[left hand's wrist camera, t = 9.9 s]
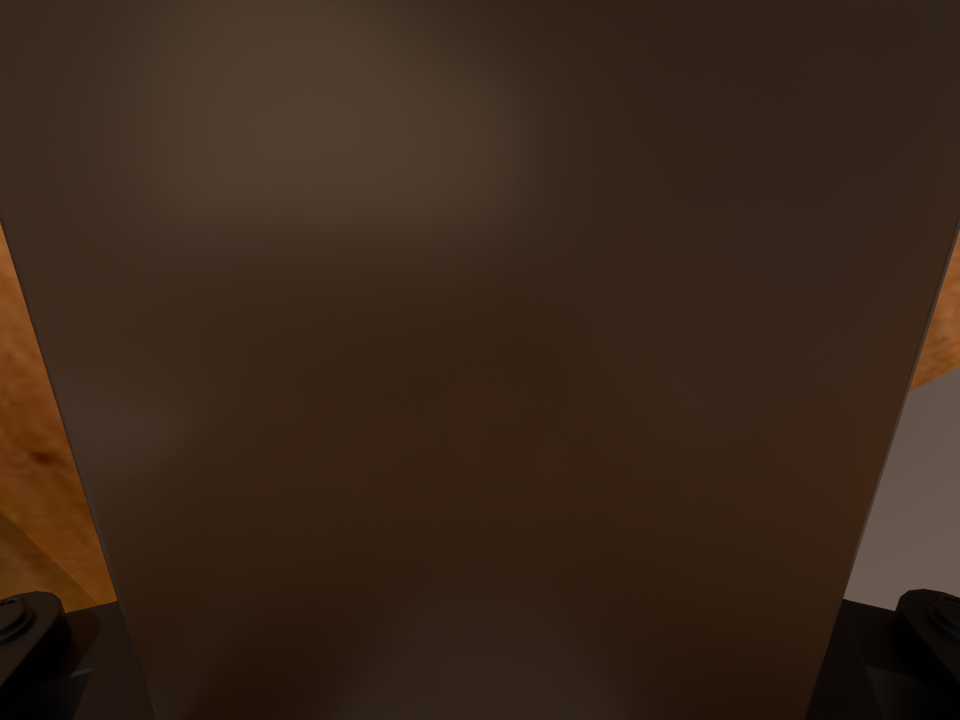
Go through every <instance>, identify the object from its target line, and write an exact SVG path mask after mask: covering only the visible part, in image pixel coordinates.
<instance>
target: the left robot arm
mask: <svg viewBox="0 0 960 720" xmlns="http://www.w3.org/2000/svg"><path fill="white" fill-rule="evenodd" d="M0 720H155V719H154V716H153V712H152V709H151V706H150V703H149V699H148V696H147V693H146V690H145V687H144V683H143V680H142V677H141V674H140V670H139V667H138V664H137V661H136V658H135V654H134V651H133V648H132V645H131V641H130V638H129V635H128V632H127V629H126V625H125V622H124V619H123V616H122V612H121V609H120V606H119V603H118V601H115V602H112V603H108V604H104V605H99V606H95V607H91V608H86V609H82V610H78V611H73V612H69V613H65V611H64V609H63V606H62V603H61V600H60V599H59V598H58V597H56V596H55V595H54V594H52V593H48V592H39V591H35V592H29V593H23V594H18V595H14V596H12V597H9V598H6V599H3V600H0ZM805 720H960V598H959V597H955V596H953V595H950V594H947V593H944V592H939V591H933V590H927V589H918V590H909V591H907V592H906V593H905V594H904V595H902V596H901V597H900V599H899V602H898V605H897V607H896V610H895V611H892V610H888V609H884V608H879V607H875V606H870V605H866V604H862V603H857V602H853V601H849V600H846V599H843V600H842V603H841V606H840V609H839V612H838V616H837V619H836V622H835V625H834V628H833V631H832V634H831V638H830V641H829V644H828V647H827V650H826V653H825V657H824V660H823V663H822V666H821V669H820V672H819V676H818V679H817V682H816V685H815V688H814V691H813V695H812V698H811V701H810V704H809V707H808V710H807V714H806V717H805Z"/></svg>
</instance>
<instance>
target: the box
mask: <svg viewBox="0 0 960 720" xmlns="http://www.w3.org/2000/svg"><path fill="white" fill-rule="evenodd" d="M0 222H1V226H2V229H3V232H4V235H5V238H6V242H7V245H8V248H9V251H10V255H11V258H12V261H13V264H14V267H15V271H16V274H17V277H18V280H19V284H20V287H21V290H22V293H23V296H24V300H25V303H26V306H27V309H28V313H29V316H30V319H31V322H32V326H33V329H34V332H35V335H36V338H37V342H38V345H39V348H40V351H41V355H42V358H43V361H44V364H45V367H46V371H47V374H48V377H49V380H50V384H51V387H52V390H53V393H54V396H55V400H56V403H57V406H58V409H59V413H60V416H61V419H62V422H63V425H64V429H65V432H66V435H67V438H68V442H69V445H70V448H71V451H72V454H73V458H74V461H75V464H76V467H77V471H78V474H79V477H80V480H81V483H82V487H83V490H84V493H85V496H86V500H87V503H88V506H89V509H90V512H91V516H92V519H93V522H94V525H95V529H96V532H97V535H98V538H99V541H100V545H101V548H102V551H103V554H104V558H105V561H106V564H107V567H108V570H109V574H110V577H111V580H112V583H113V587H114V590H115V593H116V596H117V600H118V603H119V606H120V609H121V612H122V616H123V619H124V622H125V625H126V629H127V632H128V635H129V638H130V641H131V645H132V648H133V651H134V654H135V658H136V661H137V664H138V667H139V670H140V674H141V677H142V680H143V683H144V687H145V690H146V693H147V696H148V699H149V703H150V706H151V709H152V712H153V716H154V719H155V720H805V717H806V714H807V710H808V707H809V704H810V701H811V698H812V695H813V691H814V688H815V685H816V682H817V679H818V676H819V672H820V669H821V666H822V663H823V660H824V657H825V653H826V650H827V647H828V644H829V641H830V638H831V634H832V631H833V628H834V625H835V622H836V619H837V616H838V612H839V609H840V606H841V603H842V600H843V597H844V593H845V590H846V587H847V584H848V581H849V578H850V574H851V571H852V568H853V565H854V562H855V559H856V555H857V552H858V549H859V546H860V543H861V540H862V537H863V533H864V530H865V527H866V524H867V521H868V518H869V514H870V511H871V508H872V505H873V502H874V498H875V495H876V492H877V489H878V486H879V483H880V480H881V476H882V473H883V470H884V467H885V464H886V461H887V457H888V454H889V451H890V448H891V445H892V441H893V438H894V435H895V432H896V429H897V426H898V423H899V420H900V416H901V413H902V410H903V407H904V404H905V401H906V397H907V394H908V391H909V388H910V385H911V382H912V378H913V375H914V372H915V369H916V366H917V363H918V359H919V356H920V353H921V350H922V347H923V344H924V341H925V337H926V334H927V331H928V328H929V325H930V322H931V318H932V315H933V312H934V309H935V306H936V303H937V299H938V296H939V293H940V290H941V287H942V284H943V280H944V277H945V274H946V271H947V268H948V265H949V262H950V258H951V255H952V252H953V249H954V246H955V243H956V239H957V236H958V233H959V230H960V0H0Z"/></svg>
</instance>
